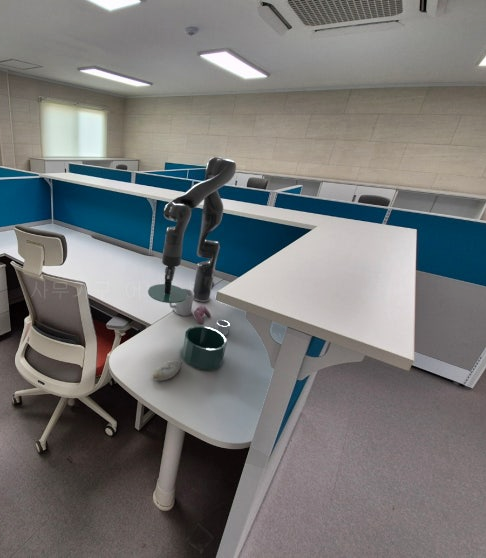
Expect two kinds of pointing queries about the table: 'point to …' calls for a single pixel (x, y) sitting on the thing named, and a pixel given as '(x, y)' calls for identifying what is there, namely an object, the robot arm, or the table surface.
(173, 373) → the decorative stone
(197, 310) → the video game controller
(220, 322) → the steel cup
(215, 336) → the pot
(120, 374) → the table surface
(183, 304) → the mug
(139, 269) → the table surface
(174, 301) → the lid
